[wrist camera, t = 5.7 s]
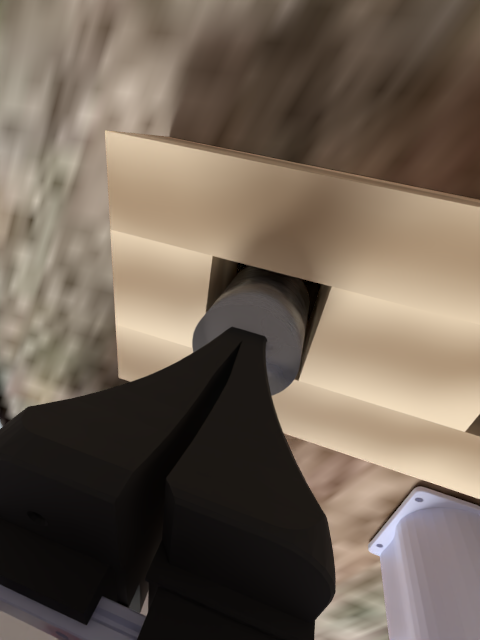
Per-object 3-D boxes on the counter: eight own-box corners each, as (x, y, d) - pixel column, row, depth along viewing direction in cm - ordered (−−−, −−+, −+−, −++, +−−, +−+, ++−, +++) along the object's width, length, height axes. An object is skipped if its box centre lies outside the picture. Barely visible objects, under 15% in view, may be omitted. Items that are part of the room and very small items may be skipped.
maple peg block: (571, 458, 18) (646, 555, 13) (161, 333, 21) (118, 377, 17) (801, 264, 11) (1075, 329, 7) (168, 137, 15) (104, 130, 11)
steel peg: (296, 346, 16) (284, 410, 12) (223, 325, 16) (188, 379, 12) (320, 274, 14) (314, 323, 10) (235, 253, 14) (197, 291, 10)
